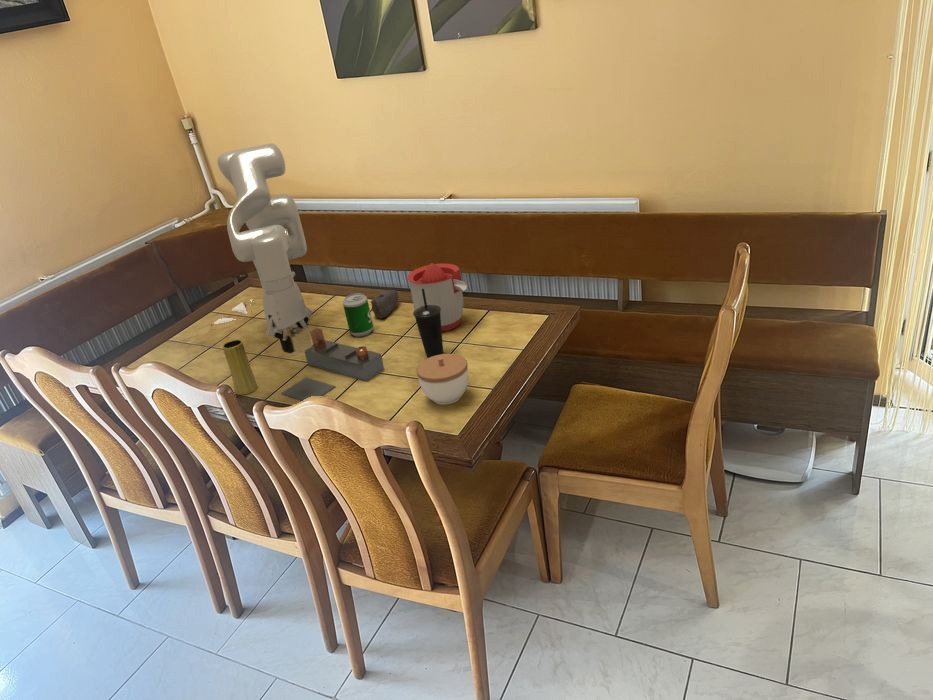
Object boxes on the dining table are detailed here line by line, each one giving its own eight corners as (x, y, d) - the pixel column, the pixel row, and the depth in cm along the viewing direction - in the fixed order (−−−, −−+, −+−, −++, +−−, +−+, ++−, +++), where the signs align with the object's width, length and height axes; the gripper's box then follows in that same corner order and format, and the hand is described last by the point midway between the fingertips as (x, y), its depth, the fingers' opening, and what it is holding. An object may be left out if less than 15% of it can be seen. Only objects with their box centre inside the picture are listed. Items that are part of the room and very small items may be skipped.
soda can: (369, 337, 220) (361, 301, 214) (346, 338, 222) (338, 302, 216) (377, 326, 226) (369, 291, 221) (355, 327, 228) (346, 292, 223)
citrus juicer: (462, 337, 211) (452, 273, 202) (408, 335, 217) (396, 273, 208) (479, 314, 224) (470, 253, 215) (428, 313, 230) (418, 254, 221)
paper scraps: (220, 335, 240) (218, 329, 239) (193, 331, 247) (191, 325, 246) (275, 304, 259) (274, 298, 258) (249, 300, 266) (247, 294, 265)
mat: (281, 394, 195) (281, 392, 195) (306, 378, 201) (305, 377, 201) (310, 403, 188) (310, 402, 188) (335, 387, 194) (335, 386, 194)
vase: (238, 385, 203) (223, 340, 197) (259, 382, 203) (245, 337, 197) (233, 396, 198) (218, 350, 191) (255, 393, 198) (241, 346, 191)
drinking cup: (452, 348, 205) (441, 283, 196) (442, 361, 198) (430, 295, 190) (427, 348, 207) (415, 283, 199) (417, 360, 201) (404, 295, 192)
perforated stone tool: (392, 302, 243) (388, 283, 240) (406, 302, 241) (402, 283, 237) (369, 321, 231) (365, 301, 228) (383, 322, 229) (379, 302, 226)
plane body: (308, 365, 209) (299, 334, 204) (325, 354, 213) (317, 324, 209) (366, 381, 195) (359, 348, 190) (384, 369, 199) (377, 337, 195)
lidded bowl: (414, 408, 178) (406, 369, 173) (434, 383, 188) (427, 345, 183) (461, 412, 173) (454, 372, 168) (479, 386, 184) (473, 347, 179)
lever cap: (281, 350, 189) (275, 330, 186) (295, 342, 192) (289, 322, 190) (298, 354, 185) (292, 334, 182) (312, 346, 188) (306, 326, 186)
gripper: (294, 269, 188) (311, 332, 196) (241, 294, 177) (261, 359, 185) (313, 272, 184) (329, 336, 192) (260, 297, 173) (280, 364, 181)
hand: (296, 347), depth 188 cm, fingers closed on lever cap, 4 cm apart
